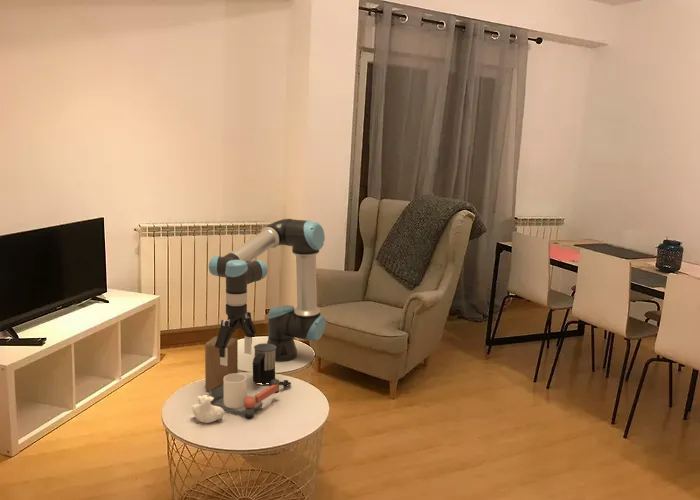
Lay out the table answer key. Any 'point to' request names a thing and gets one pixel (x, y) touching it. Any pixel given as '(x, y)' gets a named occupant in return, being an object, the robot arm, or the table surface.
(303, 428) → the table surface
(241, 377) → the mug
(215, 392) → the metal tray
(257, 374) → the milk frother
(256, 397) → the lever
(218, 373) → the wooden block
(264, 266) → the robot arm
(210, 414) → the bust
